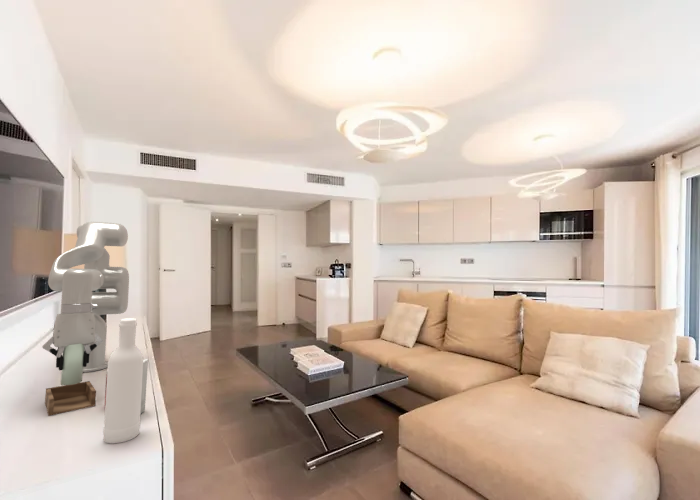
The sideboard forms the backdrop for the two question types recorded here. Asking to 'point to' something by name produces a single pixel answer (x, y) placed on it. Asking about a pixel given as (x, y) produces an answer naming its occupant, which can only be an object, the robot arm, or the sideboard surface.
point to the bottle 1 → (72, 364)
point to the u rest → (69, 398)
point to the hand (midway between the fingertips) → (72, 367)
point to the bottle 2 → (124, 387)
